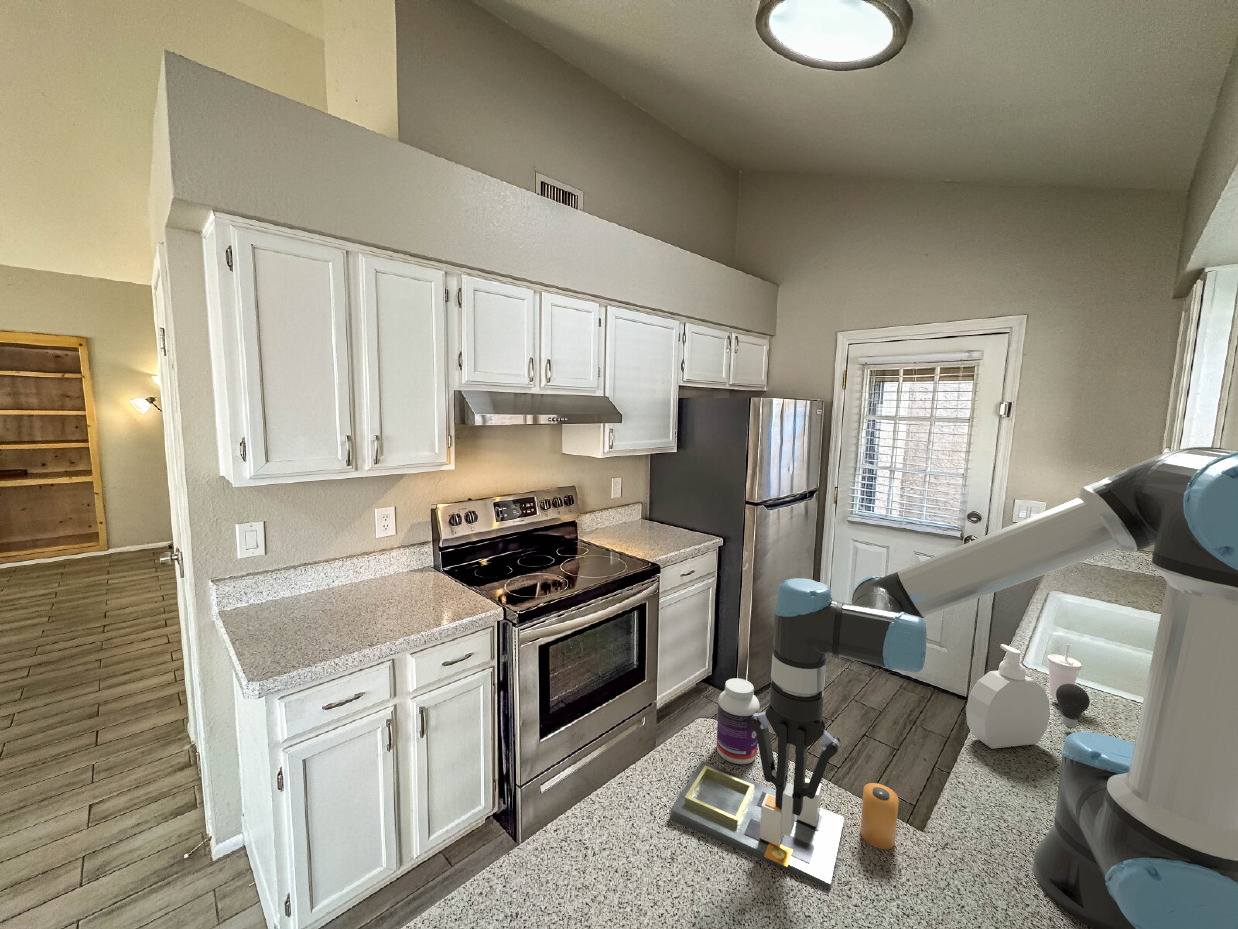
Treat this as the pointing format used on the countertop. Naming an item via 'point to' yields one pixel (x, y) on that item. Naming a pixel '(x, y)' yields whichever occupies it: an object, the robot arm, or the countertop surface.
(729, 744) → the pill bottle
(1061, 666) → the smoothie
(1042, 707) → the soap bottle
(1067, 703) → the light bulb
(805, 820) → the breaker
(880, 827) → the cap
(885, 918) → the countertop surface
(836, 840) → the breaker panel
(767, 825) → the block
